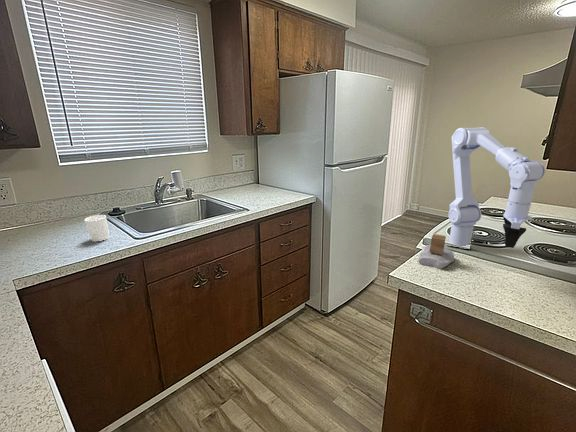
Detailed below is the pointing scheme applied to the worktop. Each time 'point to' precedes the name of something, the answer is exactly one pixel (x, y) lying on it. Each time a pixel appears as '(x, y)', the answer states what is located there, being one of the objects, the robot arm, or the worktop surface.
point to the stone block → (436, 258)
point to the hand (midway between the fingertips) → (509, 242)
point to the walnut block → (437, 244)
